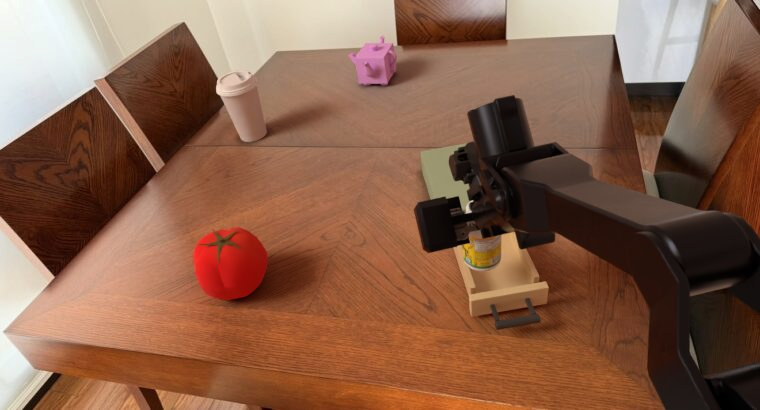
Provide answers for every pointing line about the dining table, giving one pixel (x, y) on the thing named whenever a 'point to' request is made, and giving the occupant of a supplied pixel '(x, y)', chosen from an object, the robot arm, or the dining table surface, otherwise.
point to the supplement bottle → (481, 250)
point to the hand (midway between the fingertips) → (478, 218)
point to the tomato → (230, 263)
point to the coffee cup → (243, 103)
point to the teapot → (375, 62)
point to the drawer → (505, 285)
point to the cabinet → (442, 175)
